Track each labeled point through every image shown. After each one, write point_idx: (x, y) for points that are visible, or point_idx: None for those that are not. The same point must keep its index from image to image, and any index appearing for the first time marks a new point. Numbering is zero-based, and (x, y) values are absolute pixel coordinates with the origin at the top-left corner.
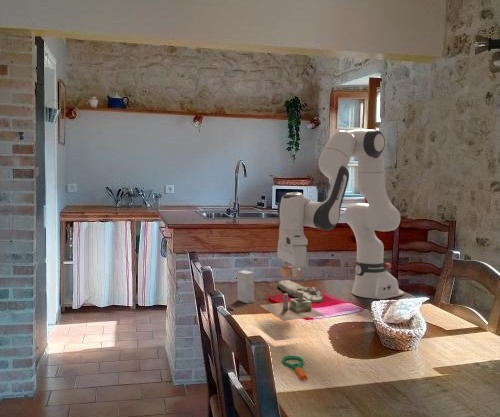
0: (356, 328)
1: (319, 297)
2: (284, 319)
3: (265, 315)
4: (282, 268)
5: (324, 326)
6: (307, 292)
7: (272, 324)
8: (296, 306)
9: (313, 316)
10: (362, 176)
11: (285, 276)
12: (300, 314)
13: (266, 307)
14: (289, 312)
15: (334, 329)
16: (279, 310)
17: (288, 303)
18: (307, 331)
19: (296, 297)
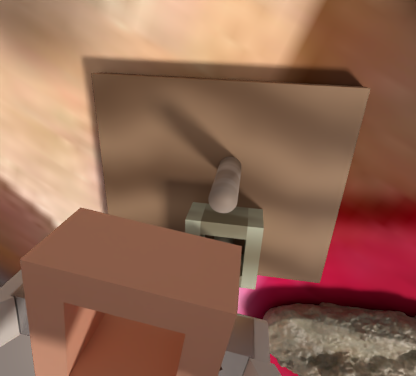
0: (19, 266)
1: (277, 351)
2: (104, 85)
3: (252, 62)
4: (135, 286)
5: (51, 201)
6: (363, 360)
7: (117, 23)
8: (198, 211)
9: (109, 214)
10: None
11: (71, 218)
12: (147, 187)
13: (311, 105)
14: (188, 162)
15: (18, 210)
16: (234, 138)
17: (309, 232)
18: (10, 118)
19: (381, 311)
